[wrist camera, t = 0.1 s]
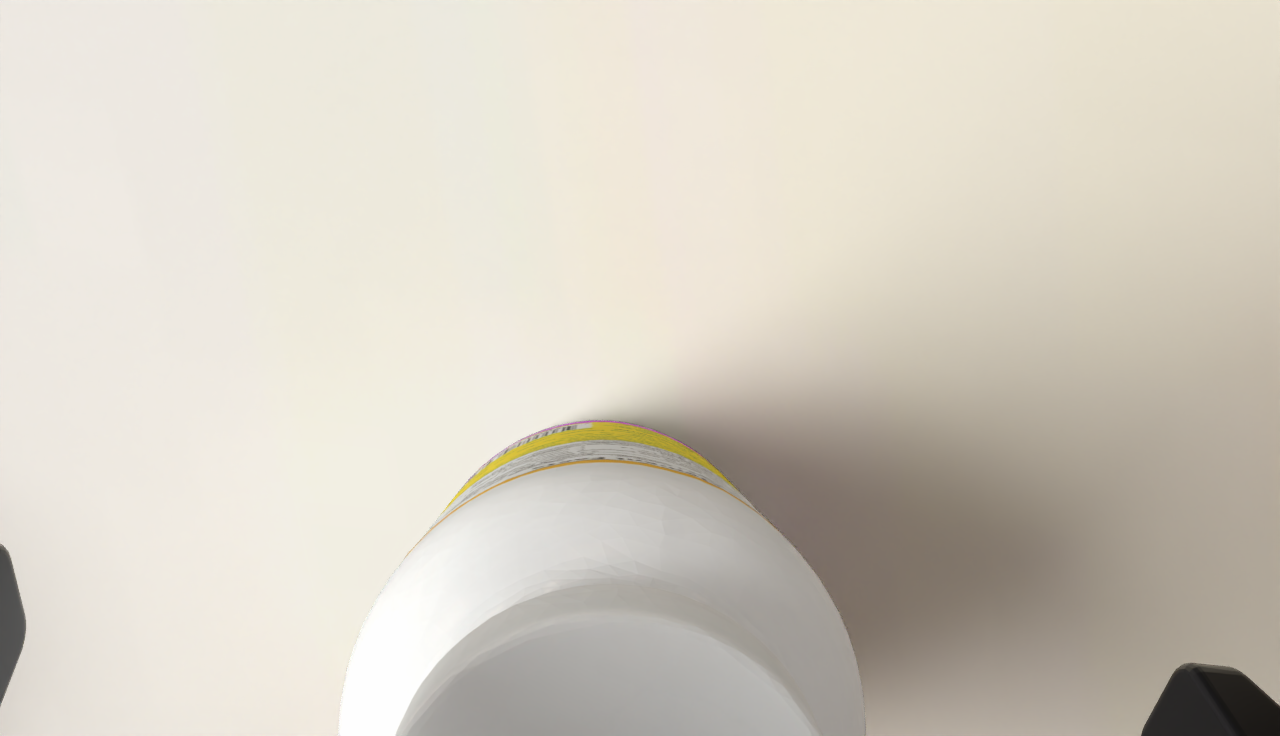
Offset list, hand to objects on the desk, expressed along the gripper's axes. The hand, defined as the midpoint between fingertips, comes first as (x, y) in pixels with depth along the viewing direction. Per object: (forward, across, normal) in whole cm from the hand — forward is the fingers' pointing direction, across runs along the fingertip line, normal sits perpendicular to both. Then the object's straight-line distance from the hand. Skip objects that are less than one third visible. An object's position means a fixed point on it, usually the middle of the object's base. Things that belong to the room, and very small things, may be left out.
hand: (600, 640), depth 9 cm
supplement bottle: (+11, 0, +10) cm, 15 cm away
